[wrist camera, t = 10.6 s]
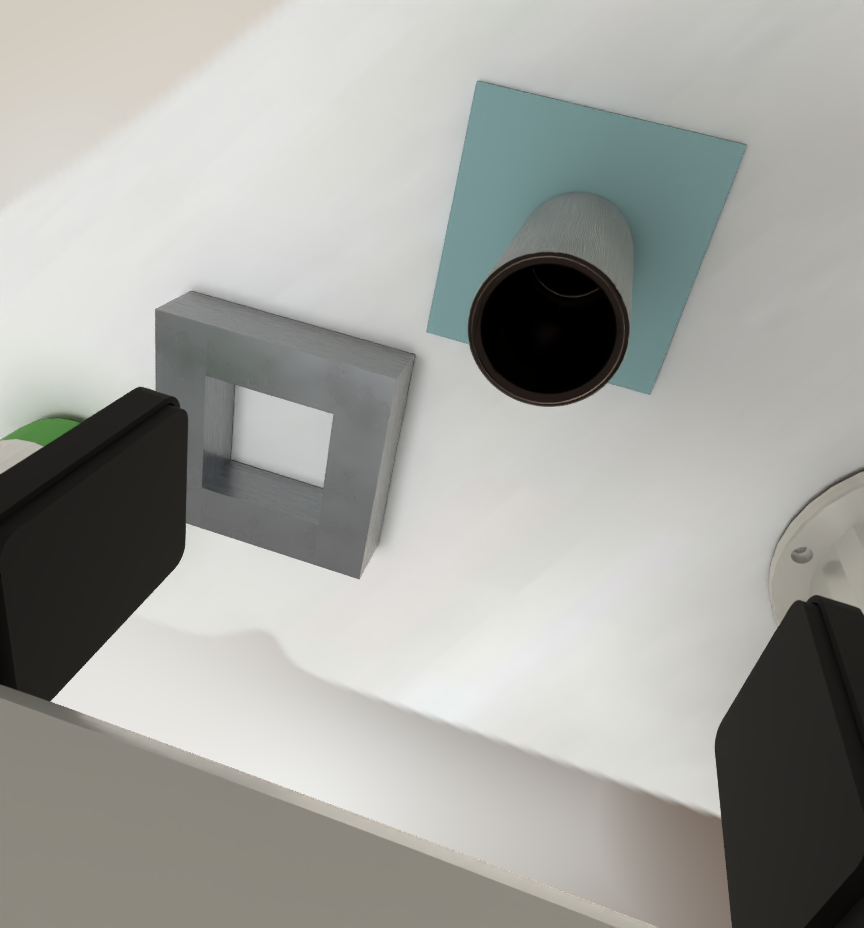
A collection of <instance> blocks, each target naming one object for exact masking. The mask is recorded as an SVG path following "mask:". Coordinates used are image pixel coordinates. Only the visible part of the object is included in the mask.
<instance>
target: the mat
mask: <svg viewBox="0 0 864 928" xmlns="http://www.w3.org/2000/svg"><path fill="white" fill-rule="evenodd" d="M746 146H747V145H746V144H743V143H738V142H734V141H730V140H726V139H721V138H717V137H713V136H709V135H705V134H700V133H696V132H692V131H688V130H684V129H679V128H675V127H671V126H667V125H662V124H658V123H654V122H650V121H646V120H641V119H637V118H633V117H629V116H624V115H620V114H616V113H612V112H608V111H603V110H599V109H595V108H591V107H587V106H582V105H578V104H574V103H570V102H565V101H561V100H557V99H553V98H549V97H544V96H540V95H536V94H532V93H528V92H523V91H519V90H515V89H511V88H506V87H502V86H498V85H494V84H490V83H485V82H481V81H477V82H476V87H475V92H474V97H473V102H472V107H471V112H470V117H469V122H468V127H467V132H466V137H465V142H464V147H463V152H462V157H461V162H460V167H459V172H458V177H457V182H456V187H455V192H454V197H453V202H452V207H451V212H450V217H449V222H448V227H447V232H446V237H445V242H444V247H443V252H442V257H441V262H440V267H439V272H438V277H437V282H436V287H435V292H434V297H433V301H432V306H431V311H430V316H429V321H428V326H427V331H426V332H428V333H432V334H435V335H439V336H442V337H446V338H449V339H453V340H456V341H460V342H464V343H467V344H469V340H468V329H467V326H468V316H469V311H470V307H471V304H472V301H473V299H474V296H475V294H476V292H477V291H478V289H479V287H480V286H481V284H482V283H483V281H484V280H485V278H486V277H487V275H488V274H489V273H490V271H491V270H492V268H493V267H494V265H495V264H496V263H497V261H498V260H499V258H500V257H501V255H502V254H503V253H504V251H505V250H506V248H507V247H508V245H509V244H510V243H511V241H512V240H513V238H514V237H515V235H516V234H517V233H518V231H519V230H520V228H521V227H522V225H523V224H524V223H525V221H526V220H527V218H528V217H529V216H530V215H531V214H532V213H533V212H534V210H536V209H537V208H538V207H539V206H540V205H542V204H543V203H544V202H546V201H547V200H549V199H551V198H553V197H555V196H558V195H561V194H565V193H570V192H586V193H591V194H595V195H597V196H600V197H602V198H604V199H606V200H608V201H609V202H611V203H612V204H613V205H614V206H615V207H616V208H617V209H618V210H619V211H620V212H621V213H622V215H623V216H624V218H625V219H626V221H627V223H628V225H629V228H630V231H631V234H632V239H633V246H634V257H633V282H632V307H631V331H630V340H629V345H628V349H627V352H626V355H625V358H624V360H623V362H622V364H621V366H620V368H619V369H618V371H617V372H616V374H615V375H614V376H613V378H612V379H611V380H610V381H609V382H608V383H610V384H613V385H617V386H620V387H624V388H628V389H631V390H635V391H638V392H642V393H645V394H649V395H650V394H651V391H652V389H653V386H654V383H655V381H656V378H657V376H658V373H659V370H660V368H661V365H662V363H663V360H664V358H665V355H666V352H667V350H668V347H669V345H670V342H671V340H672V337H673V334H674V332H675V329H676V327H677V324H678V322H679V319H680V316H681V314H682V311H683V309H684V306H685V303H686V301H687V298H688V296H689V293H690V291H691V288H692V285H693V283H694V280H695V278H696V275H697V273H698V270H699V267H700V265H701V262H702V260H703V257H704V255H705V252H706V249H707V247H708V244H709V242H710V239H711V236H712V234H713V231H714V229H715V226H716V224H717V221H718V218H719V216H720V213H721V211H722V208H723V206H724V203H725V200H726V198H727V195H728V193H729V190H730V188H731V185H732V182H733V180H734V177H735V175H736V172H737V169H738V167H739V164H740V162H741V159H742V157H743V154H744V151H745V149H746Z"/></svg>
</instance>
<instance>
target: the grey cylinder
mask: <svg viewBox="0 0 864 928" xmlns="http://www.w3.org/2000/svg"><path fill="white" fill-rule="evenodd" d="M633 257H634V246H633V239H632V234H631V231H630V228H629V225H628V223H627V221H626V219H625V218H624V216H623V215H622V213H621V212H620V211H619V210H618V209H617V208H616V207H615V206H614V205H613V204H612V203H611V202H609V201H608V200H606V199H604V198H602V197H600V196H597V195H595V194H591V193H586V192H570V193H565V194H561V195H558V196H555V197H553V198H551V199H549V200H547V201H546V202H544V203H543V204H542V205H540V206H539V207H538V208H537V209H536V210H534V212H533V213H532V214H531V215H530V216H529V217H528V218H527V220H526V221H525V223H524V224H523V225H522V227H521V228H520V230H519V231H518V233H517V234H516V235H515V237H514V238H513V240H512V241H511V243H510V244H509V245H508V247H507V248H506V250H505V251H504V253H503V254H502V255H501V257H500V258H499V260H498V261H497V263H496V264H495V265H494V267H493V268H492V270H491V271H490V273H489V274H488V275H487V277H486V278H485V280H484V281H483V283H482V284H481V286H480V287H479V289H478V291H477V292H476V294H475V296H474V299H473V301H472V304H471V307H470V311H469V316H468V326H467V329H468V340H469V345H470V349H471V352H472V355H473V358H474V360H475V362H476V364H477V366H478V367H479V369H480V371H481V372H482V373H483V375H484V376H485V377H486V378H487V380H488V381H489V382H490V383H491V384H492V385H493V386H495V387H496V388H497V389H498V390H500V391H501V392H502V393H504V394H505V395H507V396H509V397H511V398H513V399H515V400H517V401H520V402H523V403H526V404H530V405H535V406H543V407H555V406H564V405H568V404H572V403H576V402H578V401H581V400H583V399H586V398H588V397H589V396H591V395H593V394H595V393H596V392H597V391H599V390H600V389H601V388H603V387H604V386H605V385H606V384H607V383H608V382H609V381H610V380H611V379H612V378H613V376H614V375H615V374H616V372H617V371H618V369H619V368H620V366H621V364H622V362H623V360H624V358H625V355H626V352H627V349H628V345H629V340H630V331H631V307H632V282H633Z"/></svg>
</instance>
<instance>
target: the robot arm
mask: <svg viewBox="0 0 864 928" xmlns="http://www.w3.org/2000/svg"><path fill="white" fill-rule="evenodd" d="M187 452H188V414H187V412H186V411H185V410H184V409H181V408H180V404H179V401H178V399H177V398H175V397H173V396H170V395H167V394H164V393H160V392H157V391H154V390H151V389H147V388H144V387H138V388H135V389H134V390H132V391H130V392H129V393H127V394H126V395H124V396H123V397H121V398H119V399H118V400H116V401H115V402H113V403H112V404H110V405H108V406H107V407H105V408H104V409H102V410H100V411H99V412H97V413H96V414H94V415H93V416H91V417H89V418H88V419H86V420H85V421H83V422H82V423H80V424H78V425H77V426H75V427H74V428H72V429H71V430H69V431H67V432H66V433H64V434H63V435H61V436H60V437H58V438H56V439H55V440H53V441H52V442H50V443H48V444H47V445H45V446H44V447H42V448H41V449H39V450H37V451H36V452H34V453H33V454H31V455H30V456H28V457H26V458H25V459H23V460H22V461H20V462H19V463H17V464H15V465H14V466H12V467H11V468H9V469H8V470H6V471H4V472H3V473H1V474H0V928H658V927H656V926H653V925H651V924H648V923H645V922H643V921H640V920H638V919H635V918H632V917H630V916H627V915H624V914H622V913H619V912H616V911H614V910H611V909H608V908H606V907H603V906H600V905H598V904H595V903H592V902H590V901H587V900H584V899H582V898H579V897H576V896H574V895H571V894H569V893H566V892H563V891H561V890H558V889H555V888H553V887H550V886H547V885H545V884H542V883H539V882H537V881H534V880H531V879H529V878H526V877H523V876H521V875H518V874H516V873H513V872H510V871H508V870H505V869H502V868H500V867H497V866H494V865H492V864H489V863H486V862H484V861H481V860H478V859H476V858H473V857H470V856H468V855H465V854H463V853H459V852H457V851H455V850H452V849H449V848H446V847H444V846H441V845H438V844H436V843H433V842H430V841H428V840H425V839H422V838H419V837H417V836H414V835H412V834H409V833H406V832H403V831H401V830H398V829H395V828H393V827H390V826H387V825H385V824H382V823H379V822H377V821H374V820H371V819H368V818H365V817H363V816H360V815H358V814H355V813H352V812H349V811H347V810H344V809H342V808H339V807H336V806H334V805H331V804H328V803H325V802H323V801H320V800H317V799H315V798H312V797H309V796H307V795H304V794H301V793H298V792H296V791H293V790H290V789H288V788H285V787H282V786H279V785H277V784H274V783H271V782H269V781H266V780H263V779H261V778H258V777H255V776H252V775H250V774H247V773H244V772H242V771H239V770H236V769H234V768H231V767H228V766H225V765H223V764H220V763H217V762H214V761H212V760H209V759H206V758H203V757H201V756H198V755H195V754H192V753H190V752H187V751H184V750H181V749H178V748H176V747H173V746H170V745H168V744H165V743H162V742H159V741H157V740H154V739H151V738H149V737H146V736H143V735H140V734H138V733H135V732H132V731H129V730H127V729H124V728H121V727H118V726H116V725H113V724H110V723H107V722H105V721H102V720H99V719H96V718H94V717H91V716H88V715H85V714H83V713H80V712H77V711H75V710H72V709H69V708H66V707H64V706H61V705H58V704H55V703H52V702H50V701H51V700H52V699H53V698H54V697H55V696H56V695H57V694H58V693H59V691H61V689H62V688H63V687H64V686H65V685H66V684H67V683H68V682H69V681H70V680H71V679H72V678H73V677H74V676H75V674H76V673H77V672H78V671H79V670H80V669H81V668H82V667H83V666H84V665H85V664H86V662H88V661H89V660H90V658H91V657H92V656H93V655H94V654H95V653H96V652H97V651H98V650H99V649H100V648H101V647H102V646H103V645H104V643H105V642H106V641H107V640H108V639H109V638H110V637H111V636H112V635H113V634H114V633H115V632H116V631H117V630H118V628H119V627H120V626H121V625H122V624H123V623H124V622H125V621H126V620H127V619H128V618H129V617H130V616H131V615H132V614H133V613H134V611H135V610H136V609H137V608H138V607H139V606H140V605H141V604H142V603H143V602H144V601H145V600H146V599H147V598H148V597H149V595H150V594H151V593H152V592H153V591H154V590H155V589H156V588H157V587H158V586H159V585H160V584H161V583H162V582H163V581H164V579H165V578H166V577H167V576H168V575H169V574H170V573H171V572H172V571H173V570H174V569H175V568H176V566H177V565H178V564H179V562H180V560H181V558H182V556H183V553H184V549H185V534H186V493H187ZM768 587H769V593H770V599H771V605H772V609H773V612H774V616H775V619H776V622H777V626H778V628H777V630H776V631H775V633H774V635H773V636H772V638H771V640H770V641H769V643H768V645H767V646H766V648H765V650H764V651H763V653H762V655H761V656H760V658H759V660H758V661H757V663H756V665H755V666H754V668H753V670H752V671H751V673H750V675H749V677H748V678H747V680H746V682H745V683H744V685H743V687H742V688H741V690H740V692H739V693H738V695H737V697H736V698H735V700H734V702H733V703H732V705H731V707H730V708H729V710H728V712H727V713H726V715H725V717H724V718H723V720H722V722H721V724H720V726H719V728H718V731H717V734H716V739H715V757H716V767H717V778H718V788H719V798H720V808H721V819H722V828H723V837H724V848H725V860H726V869H727V879H728V890H729V900H730V911H731V921H732V928H864V471H863V472H860V473H858V474H856V475H854V476H852V477H850V478H848V479H846V480H844V481H842V482H840V483H838V484H837V485H835V486H833V487H831V488H830V489H828V490H827V491H826V492H824V493H823V494H822V495H820V496H819V497H818V498H816V499H815V500H814V501H812V502H811V503H809V504H808V505H807V506H806V508H805V509H804V510H803V511H802V512H801V513H800V514H799V515H798V516H797V517H796V518H795V519H794V520H793V521H792V522H791V523H790V525H789V527H788V528H787V530H786V531H785V533H784V535H783V536H782V538H781V539H780V541H779V543H778V544H777V547H776V550H775V553H774V556H773V559H772V561H771V564H770V573H769V584H768Z"/></svg>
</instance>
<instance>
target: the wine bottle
mask: <svg viewBox="0 0 864 928" xmlns="http://www.w3.org/2000/svg"><path fill="white" fill-rule="evenodd" d="M78 424H80V423H79V422H76V421H72V420H66V419H61V418H54V419H43V420H38V421H35V422H33V423H30V424H28V425H26V426H24V427H22V428H20V429H18V430H16V431H14V432H13V433H11V434H9V435H8V436H6V437H4V438H3V439H1V440H0V474H1V473H3V472H4V471H6V470H8V469H9V468H11V467H12V466H14V465H15V464H17V463H19V462H20V461H22V460H23V459H25V458H26V457H28V456H30V455H31V454H33V453H34V452H36V451H37V450H39V449H41V448H42V447H44V446H45V445H47V444H48V443H50V442H52V441H53V440H55V439H56V438H58V437H60V436H61V435H63V434H64V433H66V432H67V431H69V430H71V429H72V428H74V427H75V426H77V425H78Z"/></svg>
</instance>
